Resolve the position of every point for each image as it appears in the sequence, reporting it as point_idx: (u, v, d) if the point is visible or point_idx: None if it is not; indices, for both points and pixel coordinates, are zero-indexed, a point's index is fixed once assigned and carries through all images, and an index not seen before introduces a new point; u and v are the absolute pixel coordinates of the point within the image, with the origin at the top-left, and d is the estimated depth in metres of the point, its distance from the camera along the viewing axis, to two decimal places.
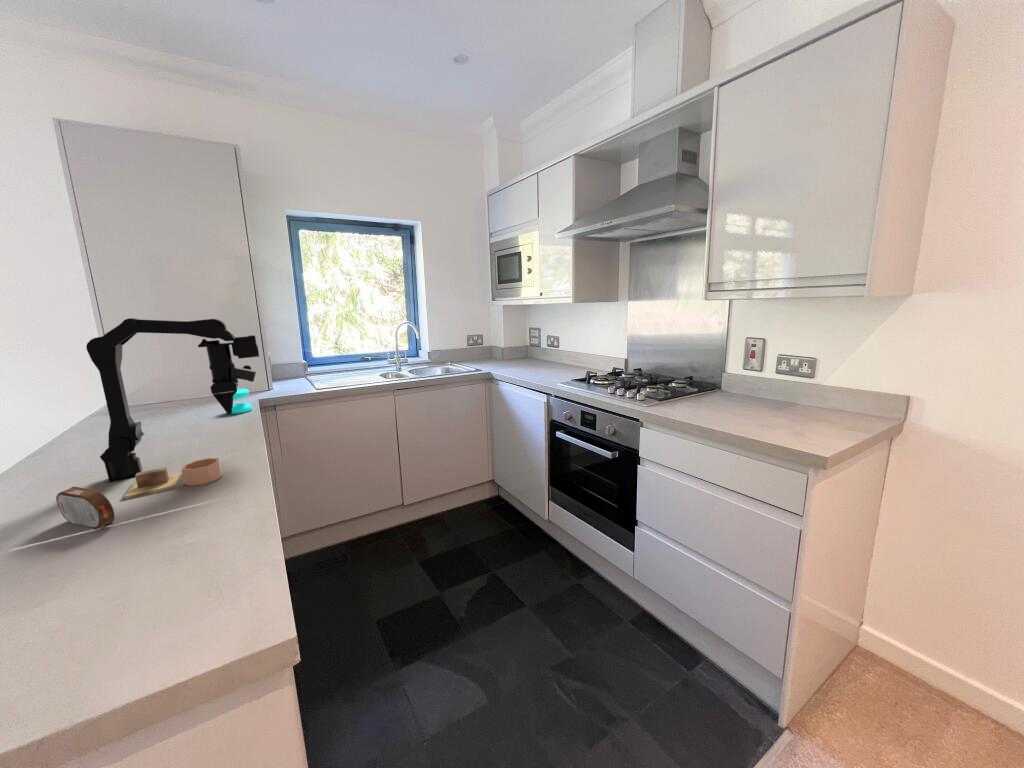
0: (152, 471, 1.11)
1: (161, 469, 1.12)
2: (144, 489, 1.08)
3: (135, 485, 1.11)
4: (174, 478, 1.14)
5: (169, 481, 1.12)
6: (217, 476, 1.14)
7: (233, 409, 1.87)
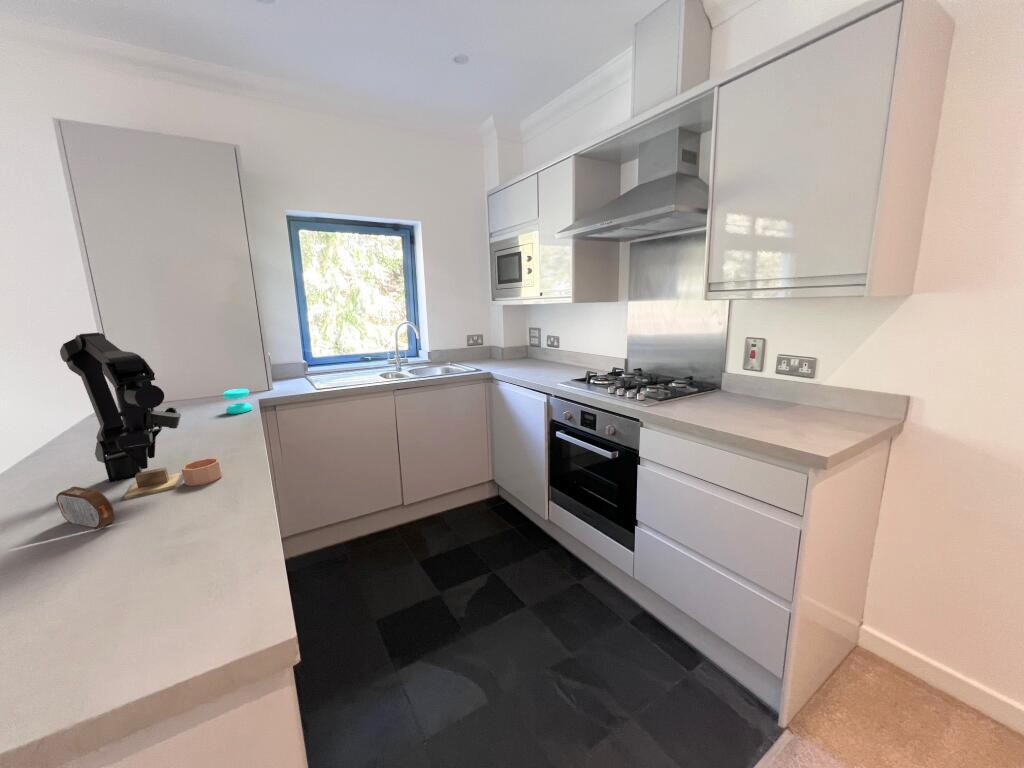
0: (152, 471, 1.11)
1: (161, 469, 1.12)
2: (144, 489, 1.08)
3: (135, 485, 1.11)
4: (174, 478, 1.14)
5: (169, 481, 1.12)
6: (217, 476, 1.14)
7: (233, 409, 1.87)
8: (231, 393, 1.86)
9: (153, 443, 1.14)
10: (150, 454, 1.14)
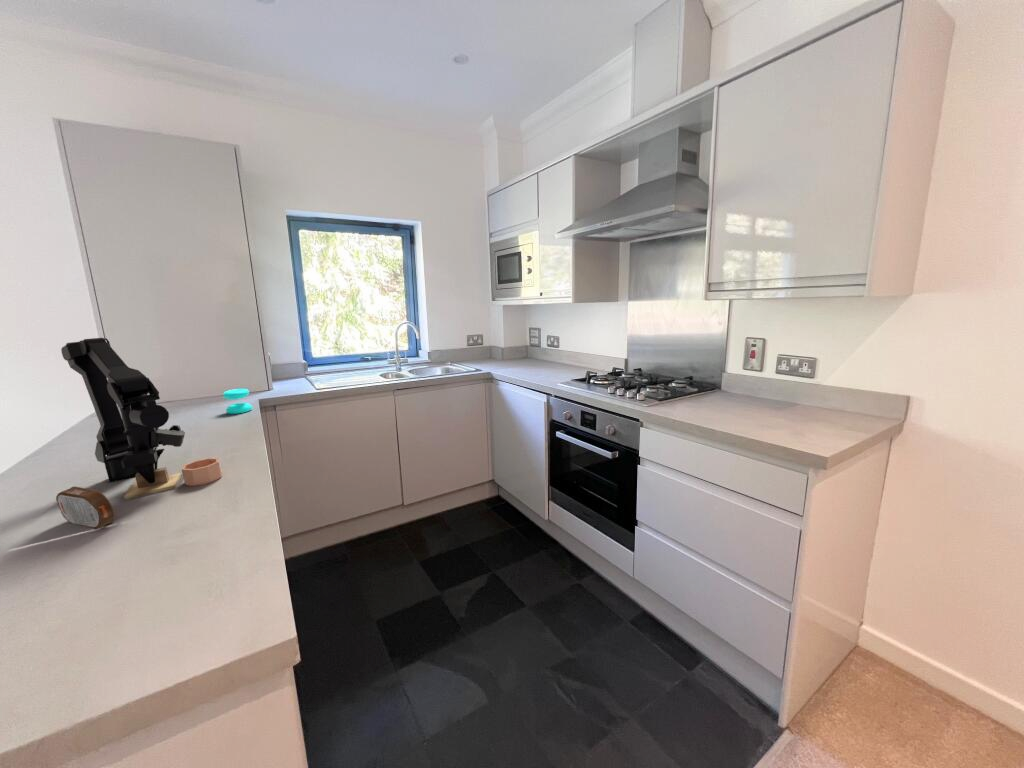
0: None
1: (161, 469, 1.12)
2: (144, 489, 1.08)
3: (135, 485, 1.11)
4: (174, 478, 1.14)
5: (169, 481, 1.12)
6: (217, 476, 1.14)
7: (233, 409, 1.87)
8: (231, 393, 1.86)
9: (155, 464, 1.12)
10: None
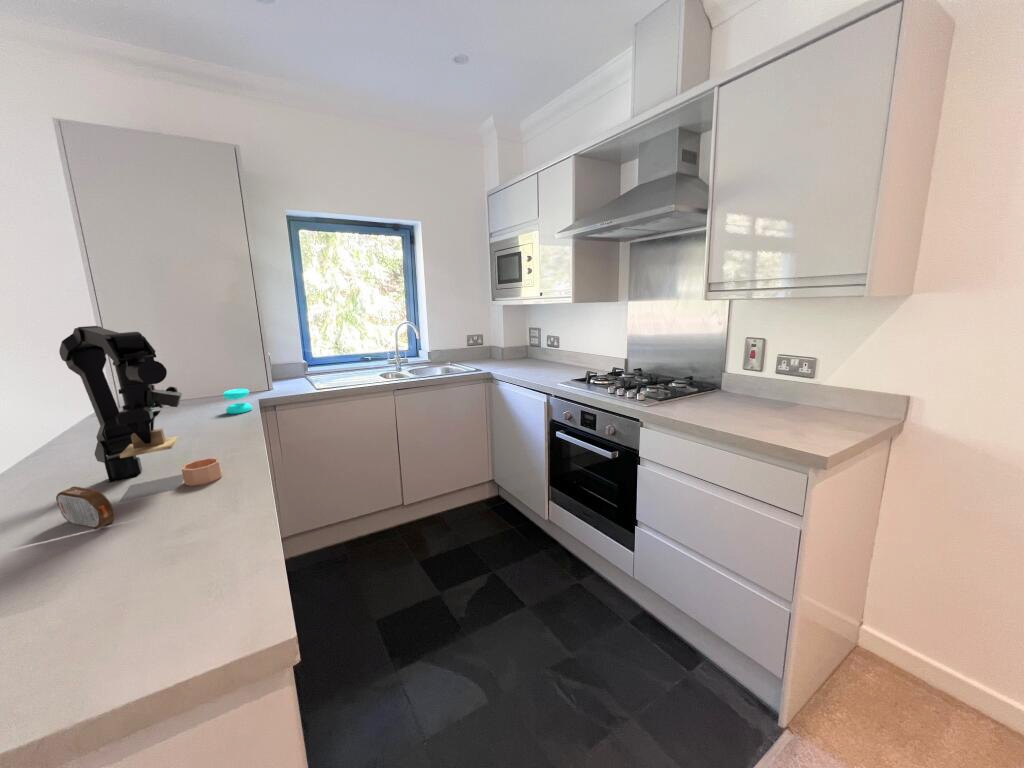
0: None
1: (157, 430, 1.10)
2: (140, 449, 1.06)
3: (131, 446, 1.09)
4: (171, 440, 1.12)
5: (165, 442, 1.10)
6: (217, 476, 1.14)
7: (233, 409, 1.87)
8: (231, 393, 1.86)
9: (151, 425, 1.10)
10: None
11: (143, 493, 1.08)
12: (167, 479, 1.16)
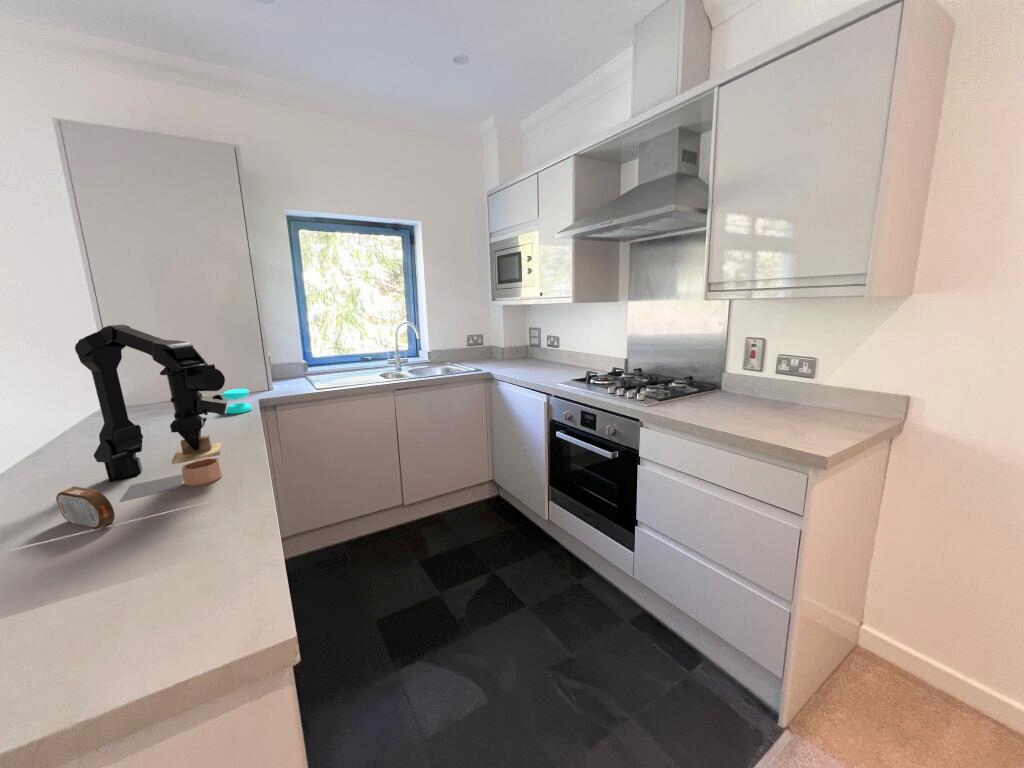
0: None
1: (204, 436, 1.13)
2: (189, 455, 1.10)
3: (179, 452, 1.13)
4: (217, 446, 1.16)
5: (212, 449, 1.14)
6: (217, 476, 1.14)
7: (233, 409, 1.87)
8: (231, 393, 1.86)
9: (199, 432, 1.14)
10: None
11: (143, 493, 1.08)
12: (167, 479, 1.16)
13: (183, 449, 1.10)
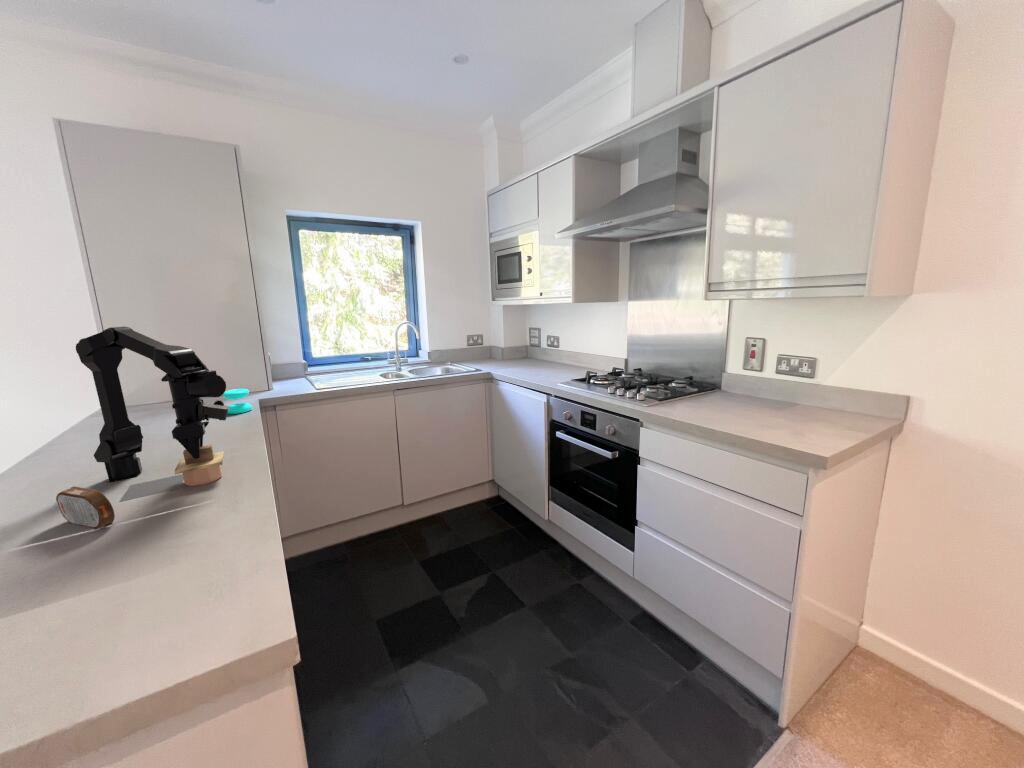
0: None
1: (207, 446, 1.14)
2: (192, 465, 1.10)
3: (182, 462, 1.13)
4: (219, 456, 1.16)
5: (215, 458, 1.14)
6: (217, 476, 1.14)
7: (233, 409, 1.87)
8: (231, 393, 1.86)
9: (201, 436, 1.16)
10: None
11: (143, 493, 1.08)
12: (167, 479, 1.16)
13: (186, 459, 1.11)
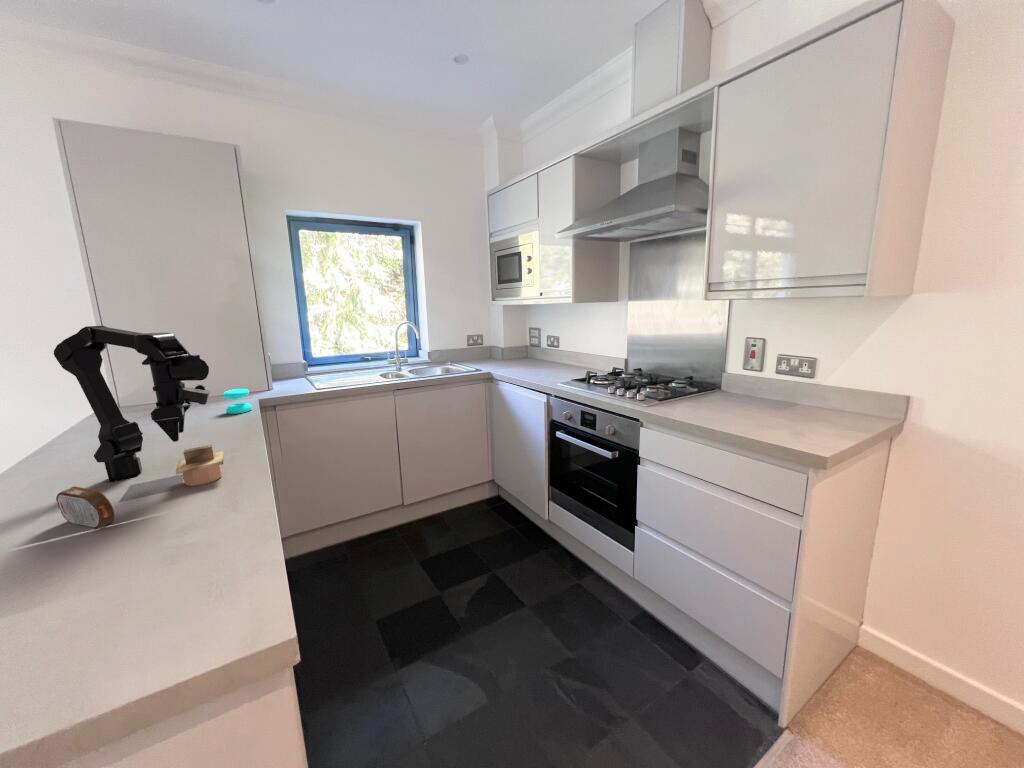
0: (199, 448, 1.13)
1: (207, 446, 1.14)
2: (193, 465, 1.10)
3: (182, 462, 1.13)
4: (219, 455, 1.17)
5: (215, 458, 1.15)
6: (217, 476, 1.14)
7: (233, 409, 1.87)
8: (231, 393, 1.86)
9: (182, 418, 1.19)
10: (180, 428, 1.19)
11: (143, 493, 1.08)
12: (167, 479, 1.16)
13: (186, 459, 1.11)
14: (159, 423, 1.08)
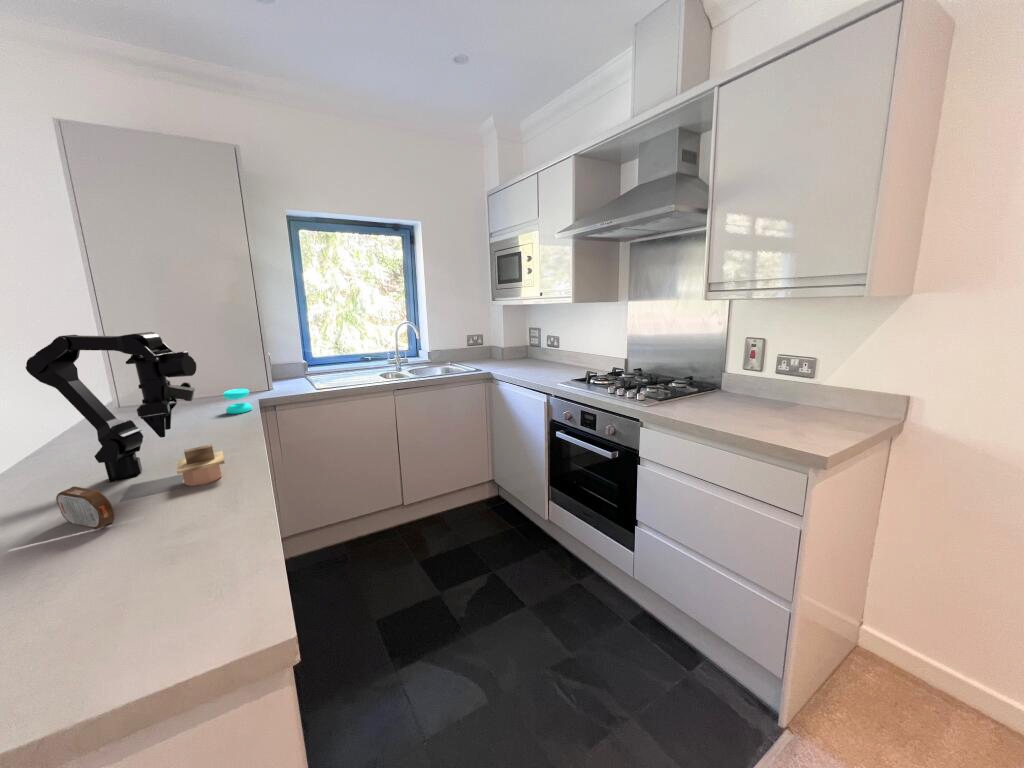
0: (200, 448, 1.13)
1: (207, 446, 1.14)
2: (194, 465, 1.10)
3: (182, 462, 1.13)
4: (219, 455, 1.17)
5: (216, 458, 1.15)
6: (217, 476, 1.14)
7: (233, 409, 1.87)
8: (231, 393, 1.86)
9: (169, 415, 1.23)
10: (167, 425, 1.23)
11: (143, 493, 1.08)
12: (167, 479, 1.16)
13: (187, 459, 1.11)
14: (145, 419, 1.11)
